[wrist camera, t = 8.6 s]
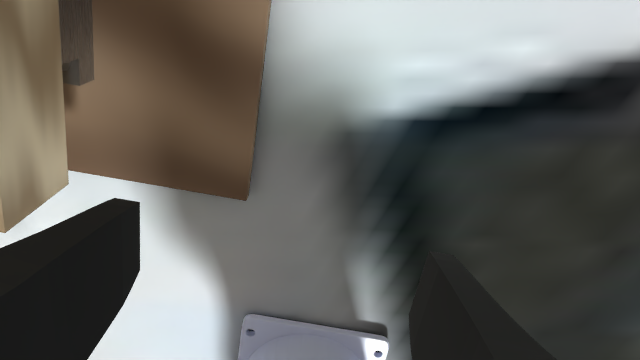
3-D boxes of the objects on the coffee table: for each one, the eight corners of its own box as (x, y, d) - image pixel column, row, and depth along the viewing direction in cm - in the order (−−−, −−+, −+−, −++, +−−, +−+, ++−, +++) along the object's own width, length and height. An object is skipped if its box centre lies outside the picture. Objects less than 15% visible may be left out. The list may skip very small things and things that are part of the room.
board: (248, 195, 23) (246, 200, 22) (19, 155, 23) (11, 160, 22) (288, -151, 17) (286, -155, 17) (-18, -208, 17) (-30, -214, 16)
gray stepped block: (94, 79, 20) (63, 93, 18) (0, 63, 20) (-42, 74, 18) (90, -49, 18) (55, -52, 16) (-14, -68, 18) (-64, -73, 16)
